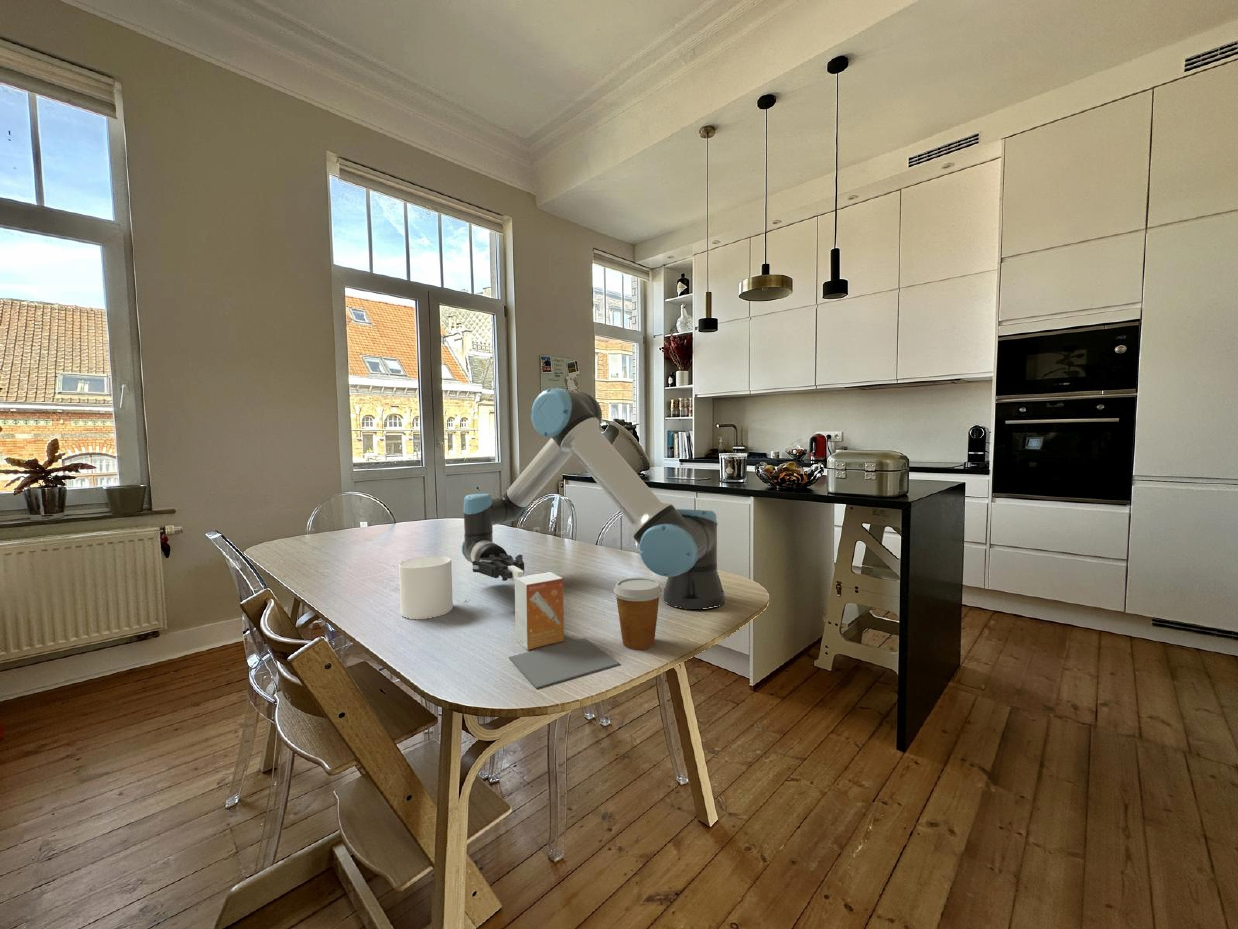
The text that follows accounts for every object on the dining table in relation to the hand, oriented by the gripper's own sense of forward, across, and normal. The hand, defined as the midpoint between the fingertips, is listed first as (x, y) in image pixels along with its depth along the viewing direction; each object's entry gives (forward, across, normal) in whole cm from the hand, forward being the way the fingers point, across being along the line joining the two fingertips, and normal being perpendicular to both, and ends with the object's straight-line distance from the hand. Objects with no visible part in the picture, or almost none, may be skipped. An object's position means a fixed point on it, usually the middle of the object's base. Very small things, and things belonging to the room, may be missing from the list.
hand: (520, 578), depth 107 cm
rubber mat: (+22, 0, -10) cm, 24 cm away
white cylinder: (-22, +16, -11) cm, 29 cm away
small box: (+10, 0, -11) cm, 15 cm away
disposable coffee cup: (+22, -16, -11) cm, 30 cm away
